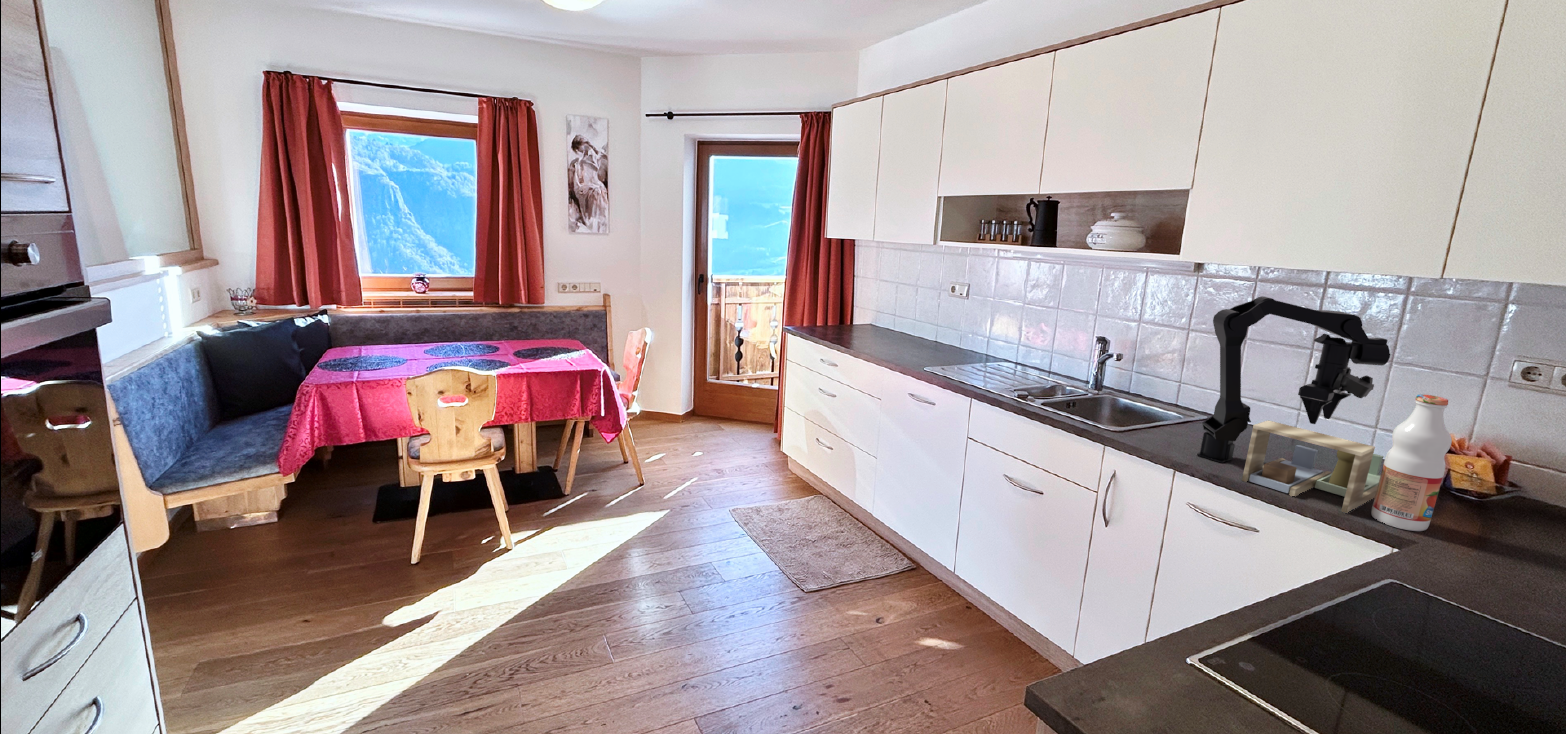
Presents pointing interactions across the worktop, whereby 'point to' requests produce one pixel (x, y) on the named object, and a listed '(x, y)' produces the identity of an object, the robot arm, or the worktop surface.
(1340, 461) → the olive rounded upright piece
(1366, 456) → the board
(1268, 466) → the walnut cube
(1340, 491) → the pale green tray
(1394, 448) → the fruit juice
